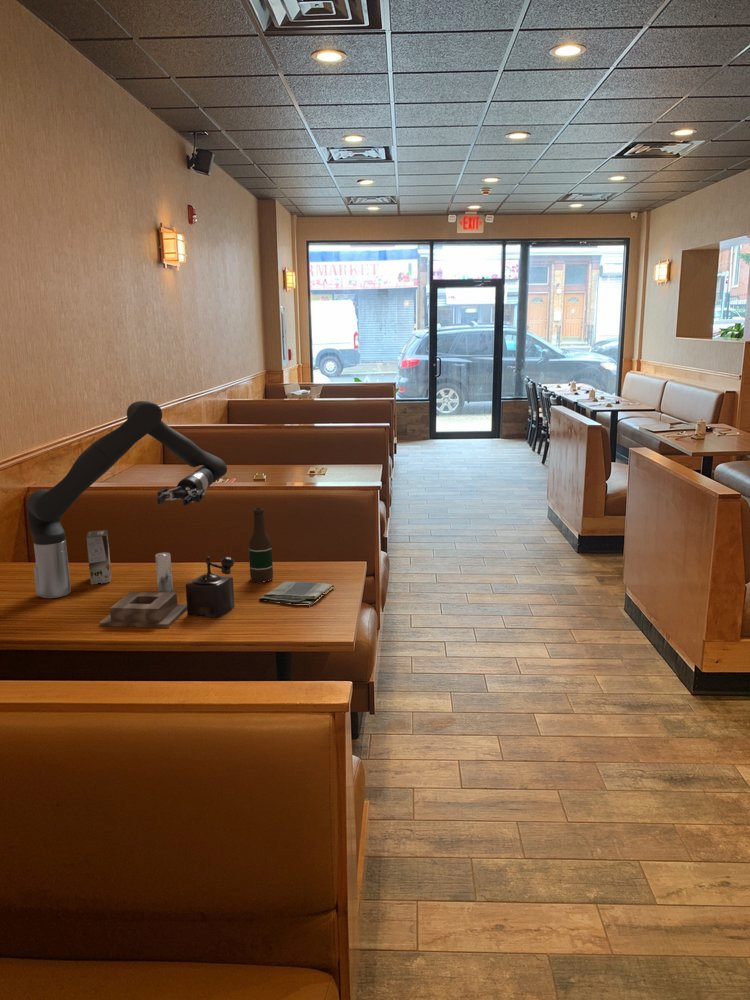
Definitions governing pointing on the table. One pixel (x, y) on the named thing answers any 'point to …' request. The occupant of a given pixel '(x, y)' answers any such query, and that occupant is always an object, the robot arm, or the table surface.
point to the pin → (164, 572)
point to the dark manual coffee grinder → (211, 591)
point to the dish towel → (297, 592)
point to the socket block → (145, 610)
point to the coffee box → (98, 556)
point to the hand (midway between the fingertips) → (171, 502)
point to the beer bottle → (260, 550)
